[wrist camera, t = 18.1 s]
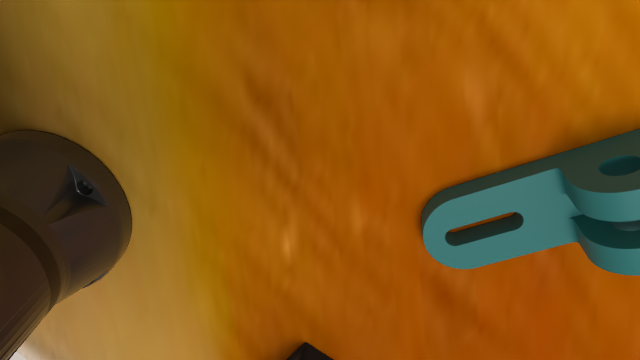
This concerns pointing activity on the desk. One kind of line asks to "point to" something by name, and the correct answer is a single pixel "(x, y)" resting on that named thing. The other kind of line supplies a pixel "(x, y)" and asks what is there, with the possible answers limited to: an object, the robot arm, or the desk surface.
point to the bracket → (545, 209)
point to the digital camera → (308, 354)
